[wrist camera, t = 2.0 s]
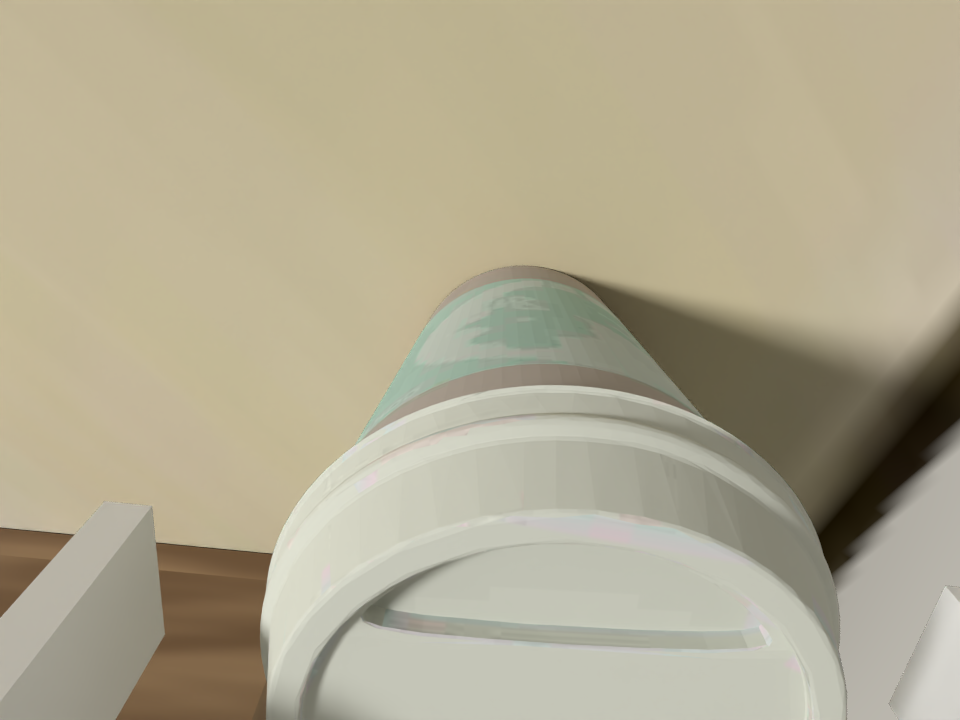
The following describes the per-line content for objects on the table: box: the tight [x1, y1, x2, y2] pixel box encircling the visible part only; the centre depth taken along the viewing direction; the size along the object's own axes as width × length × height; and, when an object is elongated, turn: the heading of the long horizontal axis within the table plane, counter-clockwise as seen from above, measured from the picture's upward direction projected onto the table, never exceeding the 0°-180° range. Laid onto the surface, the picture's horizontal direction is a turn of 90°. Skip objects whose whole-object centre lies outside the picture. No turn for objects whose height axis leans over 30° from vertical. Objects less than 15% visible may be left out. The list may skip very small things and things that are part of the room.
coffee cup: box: [260, 266, 847, 720], centre depth 14 cm, size 9×9×12 cm
